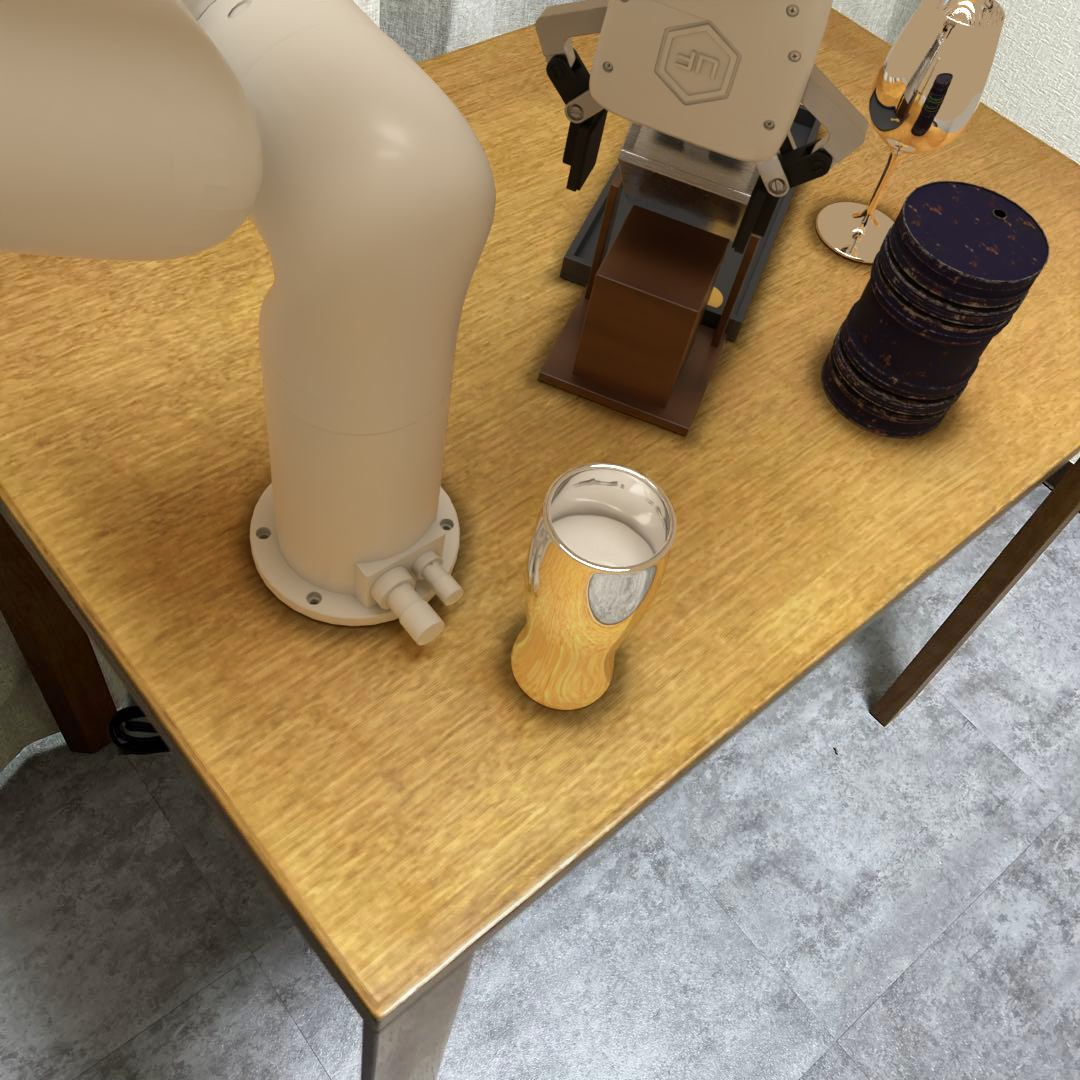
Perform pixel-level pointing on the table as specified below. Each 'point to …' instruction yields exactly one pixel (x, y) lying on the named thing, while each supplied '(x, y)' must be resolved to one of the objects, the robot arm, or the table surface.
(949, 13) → the wineglass
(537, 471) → the table surface
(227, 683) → the table surface
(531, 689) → the beer glass
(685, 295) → the stand
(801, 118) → the tray
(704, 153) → the translucent box
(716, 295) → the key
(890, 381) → the dark purple cylinder
